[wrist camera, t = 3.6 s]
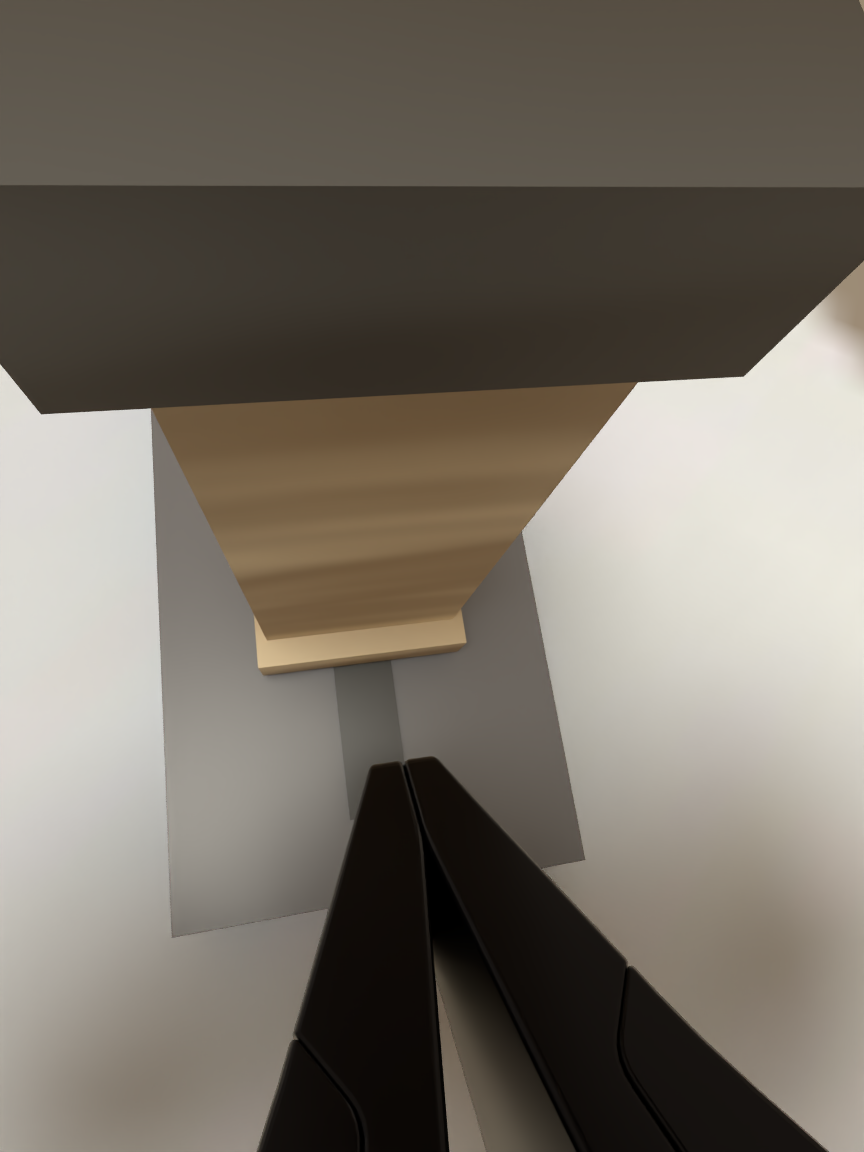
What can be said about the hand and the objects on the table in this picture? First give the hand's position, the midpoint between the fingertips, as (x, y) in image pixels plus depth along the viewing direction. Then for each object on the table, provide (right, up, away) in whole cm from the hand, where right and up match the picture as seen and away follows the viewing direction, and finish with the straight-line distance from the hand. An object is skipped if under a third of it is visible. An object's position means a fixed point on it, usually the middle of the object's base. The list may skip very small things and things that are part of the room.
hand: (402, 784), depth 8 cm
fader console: (-2, +4, +9) cm, 10 cm away
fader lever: (-1, +2, +6) cm, 6 cm away
